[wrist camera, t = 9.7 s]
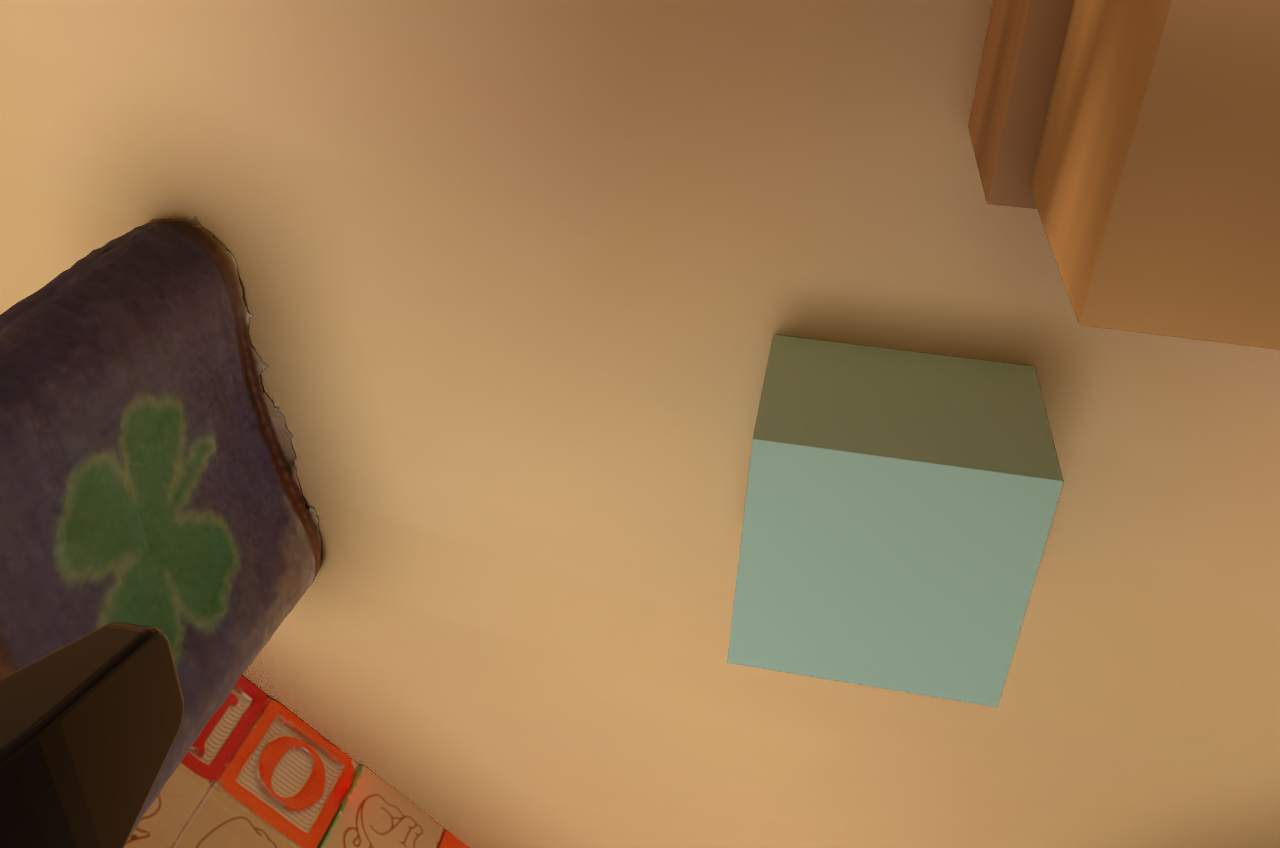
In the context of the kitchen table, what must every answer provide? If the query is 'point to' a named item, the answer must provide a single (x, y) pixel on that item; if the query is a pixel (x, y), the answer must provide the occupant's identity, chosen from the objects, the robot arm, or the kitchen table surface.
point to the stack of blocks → (278, 790)
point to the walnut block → (1015, 94)
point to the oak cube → (1167, 168)
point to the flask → (147, 468)
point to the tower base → (893, 518)
